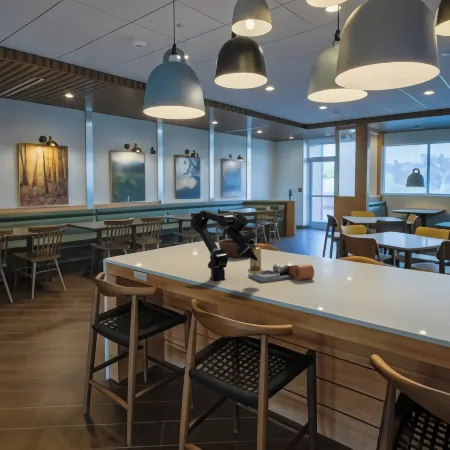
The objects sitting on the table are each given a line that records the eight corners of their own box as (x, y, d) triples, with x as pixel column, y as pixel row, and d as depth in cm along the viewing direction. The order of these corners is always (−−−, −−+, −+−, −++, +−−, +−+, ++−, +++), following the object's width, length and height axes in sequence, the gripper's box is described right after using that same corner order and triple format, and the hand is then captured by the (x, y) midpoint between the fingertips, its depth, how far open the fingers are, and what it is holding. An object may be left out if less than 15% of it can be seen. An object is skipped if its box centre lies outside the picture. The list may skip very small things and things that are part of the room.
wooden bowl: (244, 260, 254) (244, 245, 253) (212, 257, 266) (212, 242, 265) (260, 254, 275) (260, 240, 274) (230, 251, 288) (229, 237, 287)
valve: (246, 273, 188) (246, 245, 186) (249, 270, 195) (250, 242, 193) (263, 274, 186) (263, 245, 184) (265, 270, 192) (265, 243, 191)
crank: (314, 280, 201) (314, 265, 200) (300, 281, 198) (300, 266, 197) (294, 272, 219) (294, 258, 218) (281, 273, 216) (282, 259, 216)
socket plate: (261, 282, 196) (261, 269, 195) (248, 276, 208) (248, 264, 208) (294, 278, 204) (294, 265, 203) (279, 273, 217) (279, 260, 216)
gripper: (243, 227, 180) (266, 251, 178) (251, 223, 198) (273, 245, 196) (227, 243, 183) (249, 267, 181) (237, 237, 201) (257, 259, 199)
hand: (258, 259), depth 189 cm, fingers closed on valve, 5 cm apart
